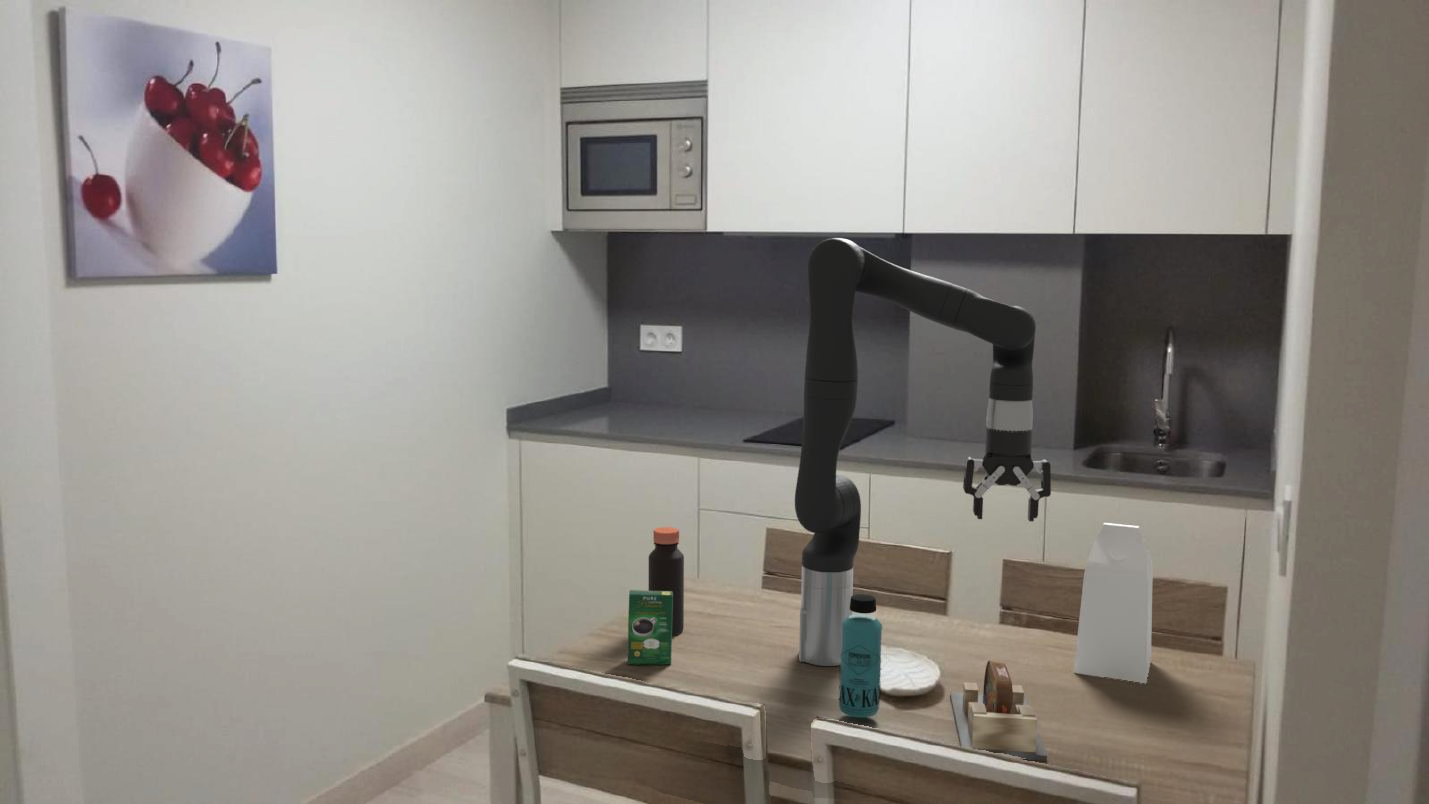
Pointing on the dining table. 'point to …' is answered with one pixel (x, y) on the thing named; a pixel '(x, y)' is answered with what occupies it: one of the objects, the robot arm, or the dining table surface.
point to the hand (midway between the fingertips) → (1005, 519)
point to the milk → (1116, 607)
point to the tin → (997, 688)
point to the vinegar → (668, 571)
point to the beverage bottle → (860, 659)
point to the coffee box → (650, 627)
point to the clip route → (997, 725)
